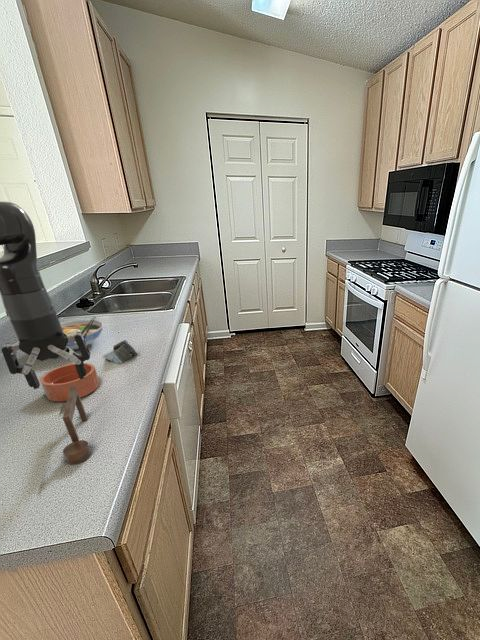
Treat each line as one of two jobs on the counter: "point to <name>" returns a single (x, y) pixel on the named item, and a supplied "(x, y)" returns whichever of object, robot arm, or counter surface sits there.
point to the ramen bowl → (82, 330)
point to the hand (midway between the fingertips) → (60, 382)
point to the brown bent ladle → (78, 448)
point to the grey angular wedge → (121, 352)
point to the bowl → (68, 382)
